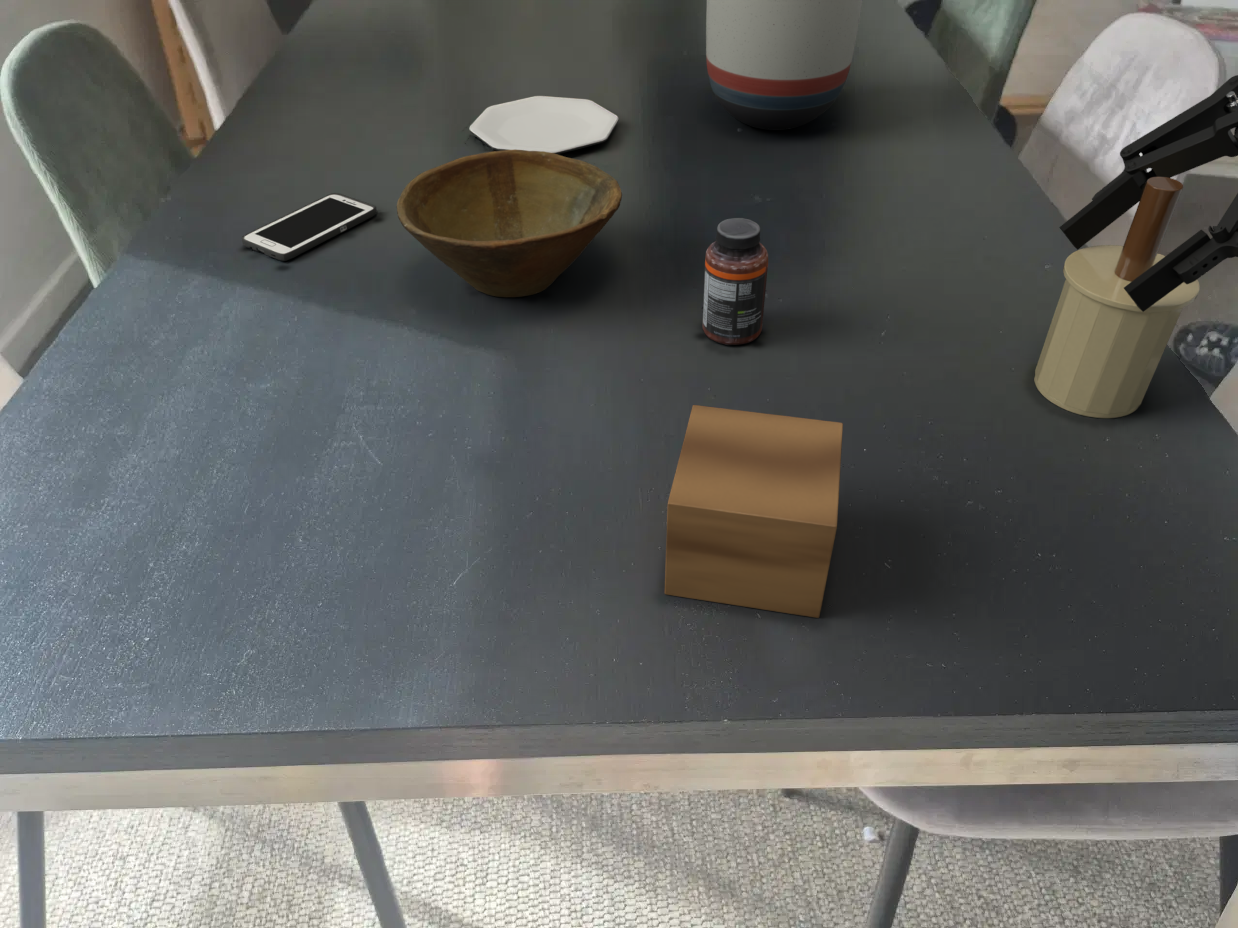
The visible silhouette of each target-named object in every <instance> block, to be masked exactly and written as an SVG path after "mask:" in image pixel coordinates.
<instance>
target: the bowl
mask: <svg viewBox="0 0 1238 928" xmlns="http://www.w3.org/2000/svg"><path fill="white" fill-rule="evenodd" d="M622 198H623V193H622V189H621V186H620V184H619V182H618V180H617V179H616V178H615V177H613V176H612V175H610V174H609V173H608V172H606V171H604V170H602V169H601V168H599V167H598V166H596V165H594V164H592V163H589V162H587V161H584V160H581V159H576V158H571V157H566V156H563V155H561V154H554V153H549V152H543V151H526V150H516V149H515V150H503V151H498V150H493V151H486V152H481V153H475V154H471V155H465V156H461V157H459V158H456V159H453V160H450V161H447V162H445V163H443V164H440V165H438V166H434V167H432V168H429V169H428V170H425V171H423V172H421V173H419V174H417V175H415V177H414V178H413V179H411V180H410V182H408V183H407V184H406V186H405V187H404V188H403V189H402V191H401V193H400V195H399V197H398V199H397V202H396V207H395V208H396V214H397V218H398V220H399V222H400V223H401V225H402V227H403V228H404V229H405V230H406V231H407V232H408V233H409V234H410V235H411V236H412V237H413V238H414V239H415V240H416V241H417V242H418V243H420V244H421V245H422V246H423V247H424V248H425V249H426V250H427V251H428V252H429V253H431V254H432V255H433V256H434V257H435V258H437V259H438V260H439V261H440V262H442V263H443V264H444V265H446V267H448V268H450V269H451V270H452V271H453V272H454V273H455V274H457V275H458V276H459V277H460V278H461V279H462V280H464V281H465V282H466V283H467V284H468V285H470V286H471V287H473V289H475V290H476V291H477V292H479V293H483V294H485V295H487V296H493V297H498V298H521V297H522V298H523V297H528V296H533V295H537V294H538V293H539V294H540V293H542V292H543V291H545V290H546V289H548V288H549V287H550V286H551V285H552V284H553V283H554V282H555V281H556V280H557V279H558V278H559V276H560V275H561V274H563V273H564V272H565V271H566V270H567V269H569V267H570V266H571V265H572V264H573V263H574V262H575V261H576V260H577V259H578V257H580V255H581V254H582V253H583V252H584V251H585V249H586V248H587V247H588V246H589V245H590V243H592V241H593V240H594V239H595V238H596V236H597V235H598V234H599V233H600V232H602V230H603V229H604V228H605V226H606V225H607V223H609V221H610V220H611V219H612V218H613V216H614V215H615V213H616V212H617V211H618V210H619V208H620V206H621V203H622Z"/></svg>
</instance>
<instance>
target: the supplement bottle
mask: <svg viewBox="0 0 1238 928" xmlns="http://www.w3.org/2000/svg"><path fill="white" fill-rule="evenodd" d="M704 257H705V258H704V259H705V261H704V279H703V298H702V302H703V303H702V307H701V310H702V319H701V320H702V321H701V322H702V330H703V332H704V334H705V336H707V338H708V339H710V340H711V341H713V342H716V343H719V344H722V345H725V346H740V345H745V344H749V343H751V342H753V341H754V340H756V339H757V338H758V337H759V336H760V334H761V332H762V330H763V323H764V312H765V302H766V293H767V291H766V290H767V281H768V279H767V278H768V271H769V270H768V269H769V252H768V250H767V249H766V247H765V246H764V245H763V243H761V227H760V225H759V224H758V223H757V222H755V221H753V220H751V219H747V218H743V217H733V218H728V219H724V220H722V221H721V222H719V224H718V225H717V227H716V236H715V240H714V242H712V243H710V245H709V246H708V247H707V249H706V251H705V256H704Z"/></svg>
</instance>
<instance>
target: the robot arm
mask: <svg viewBox="0 0 1238 928" xmlns="http://www.w3.org/2000/svg"><path fill="white" fill-rule="evenodd" d="M1233 129H1234V131H1233V132H1232V130H1233ZM1140 154H1141V155H1140ZM1119 156H1120V157H1121V159H1122V162H1123V165H1124V168H1123V170H1122V172H1121V173H1119V175H1117V176H1116V177H1115V178H1113V179H1112V180H1111V181H1109V182H1108V183H1107V184H1106V185H1105V186H1104V187H1102V188H1101V189H1100V190H1098V191H1097V192H1096V193H1095V194H1094V195H1093V196H1092V198H1091V201H1090V202H1089V203H1087V205H1085V206H1084V207H1083V208H1082V209H1080V210H1079V211H1077V212H1076V213H1075V214H1074V215H1072V217H1069V219H1068V220H1066V221H1065V222H1064V223H1062V224H1061V225H1060V226H1059V227H1058V228H1059V229H1060V231H1061V232H1062V233H1063V234H1064V236H1065V237H1066V238H1067V240H1068V241H1069V242H1070V244H1071V245H1072V247H1074V248H1075V249H1076V251H1077V250H1080V249H1082V247H1084V246H1085V245H1086V244H1088V242H1090V241H1091V240H1093V239H1094V238H1095V237H1096V236H1097V235H1099V234H1100V233H1101V232H1103V231H1104V230H1105V229H1107V227H1109V226H1110V225H1112V224H1113V223H1114V222H1115V221H1117V220H1118V219H1119V218H1120V217H1122V216H1123V215H1124V214H1125V213H1127V212H1128V211H1129V210H1131V209H1132V208H1133V207H1134V206H1136V205H1138V204H1139V202H1140V199H1141V196H1142V193H1143V191H1144V188H1145V185H1146V182H1147V180H1148V179H1149V178H1152V177H1167V178H1174V177H1176V176H1178V175H1181V174H1184V173H1186V172H1188V171H1191V170H1194V169H1196V168H1199V167H1201V166H1203V165H1206V164H1208V163H1211V162H1213V161H1216V160H1219V159H1221V158H1224V157H1228V158H1235V157H1238V74H1237V75H1234V76H1231V77H1230V78H1228V79H1227V80H1225V82H1224V83H1222V85H1220V87H1218V88H1217V89H1216V90H1215V91H1214V92H1213V93H1212V94H1210V95H1209V96H1207V97H1206V98H1204V99H1202V100H1201V101H1199V102H1198V103H1195V104H1194V105H1192V106H1191V107H1189V108H1187V109H1186V110H1184V111H1182V112H1180V113H1179V114H1177V115H1175V116H1174V117H1172V118H1171V119H1168V120H1167V121H1165V122H1164V123H1163V124H1161V125H1159V126H1157V127H1156V128H1154V129H1152V130H1151V131H1149V132H1147V133H1146V134H1144V135H1142V136H1141V137H1139V138H1137V139H1136V140H1134V141H1132V142H1131V143H1129V144H1128V145H1125V146H1124V147H1123V148H1122V149H1121V150H1120V152H1119ZM1149 169H1150V170H1149ZM1148 170H1149V171H1148ZM1207 229H1208V232H1209V233H1210V235H1211V237H1210V236H1209V235H1208V233H1207V232H1206V231H1204V230H1203V229H1199V230H1198V231H1196V233H1195V234H1193V235H1191V236H1190V237H1189V238H1188V239H1186V240H1185V241H1183V242H1182V243H1181V244H1180V245H1179V246H1177V247H1176V248H1175V249H1173V250H1172V251H1170V252H1169V253H1168V254H1166V255H1164V256H1165V257H1164V258H1163V259H1161V260H1160V261H1159V262H1157V263H1156V264H1155V265H1153V266H1152V267H1151V268H1149V269H1148V270H1147V271H1145V272H1144V273H1143V274H1141V275H1140V276H1139V277H1137V278H1136V279H1135V280H1133V281H1132V282H1131V283H1129V284H1128V285H1127V286H1125V287H1124V289H1125V291H1126V292H1127V293H1128V295H1129V296H1130V297H1131V299H1132V300H1133V301H1134V303H1135V304H1136V305H1137V307H1138V308H1139V309H1140V310H1141V311H1143V312H1144V311H1145V310H1147V309H1148V308H1149V307H1151V306H1152V305H1153V304H1155V303H1156V302H1157V301H1159V300H1160V299H1162V298H1163V297H1164V296H1166V295H1167V294H1168V293H1170V292H1171V291H1172V290H1174V289H1175V288H1177V287H1178V286H1179V285H1181V284H1182V283H1183V282H1184V283H1185V284H1189V283H1192V282H1194V281H1196V280H1197V279H1200V278H1201V277H1203V276H1204V275H1205V274H1207V273H1208V272H1210V271H1211V270H1212V269H1214V268H1215V267H1216V266H1217V265H1219V264H1221V263H1222V262H1223V261H1225V260H1226V259H1232V258H1233V259H1234V258H1238V192H1237V194H1236V195H1235V197H1234V198H1233V200H1232V201H1231V203H1230V204H1229V206H1228V208H1227V209H1226V211H1225V212H1224V214H1223V215H1222V217H1221V219H1220V220H1219V222H1218V223H1217V225H1212V226H1211V225H1208V228H1207Z"/></svg>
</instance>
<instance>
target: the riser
mask: <svg viewBox="0 0 1238 928" xmlns="http://www.w3.org/2000/svg"><path fill="white" fill-rule="evenodd" d="M843 431H844V423H843V422H839V421H830V420H821V419H814V418H806V417H805V418H804V417H799V416H798V417H797V416H788V415H780V414H774V413H773V414H772V413H765V412H756V411H747V410H739V409H731V408H721V407H714V406H705V405H698V404H693V405H692V407H691V410H690V414H689V418H688V423H687V425H686V430H685V433H684V439H683V442H682V444H681V449H680V454H679V457H678V461H677V465H676V469H675V473H674V478H673V480H672V484H671V488H670V492H669V496H668V500H667V509H666V535H665V536H666V538H665V569H664V595H667V596H673V597H680V598H687V599H692V600H700V601H705V602H706V601H707V602H712V603H719V604H723V605H724V604H725V605H731V606H738V607H745V608H752V609H758V610H763V611H769V612H770V611H771V612H778V613H782V614H783V613H784V614H789V615H790V614H791V615H796V616H801V617H802V616H803V617H808V618H809V617H810V618H815V619H816V618H817V619H819V618H820V616H821V612H822V606H823V602H824V601H823V600H824V595H825V592H826V591H825V590H826V585H827V581H828V575H829V570H830V565H831V560H832V555H833V550H834V544H835V539H836V535H837V529H838V520H839V501H840V486H841V485H840V483H841V466H842V448H843Z"/></svg>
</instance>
